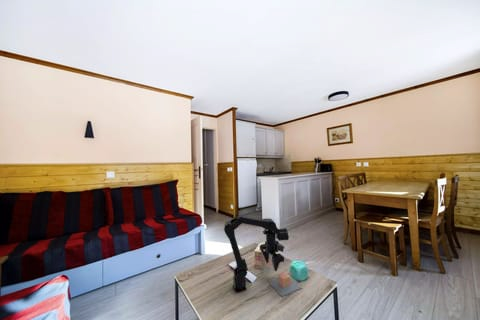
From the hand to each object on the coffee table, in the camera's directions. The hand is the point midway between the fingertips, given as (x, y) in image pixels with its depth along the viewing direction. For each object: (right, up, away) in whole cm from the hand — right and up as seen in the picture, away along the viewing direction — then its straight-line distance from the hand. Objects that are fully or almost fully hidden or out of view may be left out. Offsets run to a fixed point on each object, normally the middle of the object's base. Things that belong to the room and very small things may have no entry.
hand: (271, 266), depth 105 cm
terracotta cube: (+7, -10, -1) cm, 12 cm away
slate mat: (+7, -10, -1) cm, 13 cm away
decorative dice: (+19, -10, +6) cm, 22 cm away
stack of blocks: (-1, -12, +26) cm, 28 cm away
